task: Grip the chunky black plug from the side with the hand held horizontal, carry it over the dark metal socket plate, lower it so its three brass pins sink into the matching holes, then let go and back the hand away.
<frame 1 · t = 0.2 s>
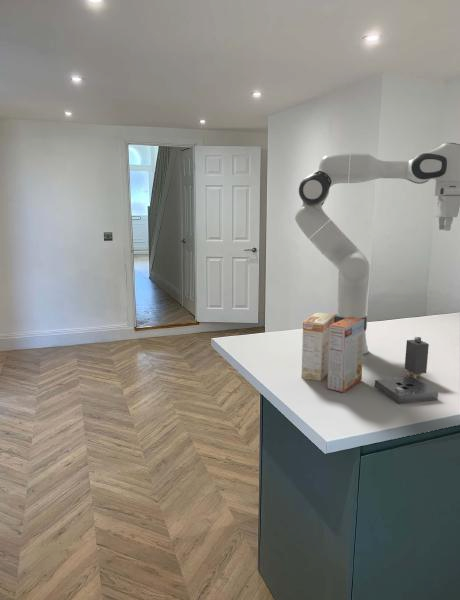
hand: (444, 230, 166), 48 cm above the worktop, tool pointing down, fingers open, 8 cm apart
plug: (414, 376, 154), on the worktop
cracker box: (344, 385, 147), on the worktop
coffeecake box: (317, 373, 158), on the worktop
socket plate: (405, 393, 140), on the worktop
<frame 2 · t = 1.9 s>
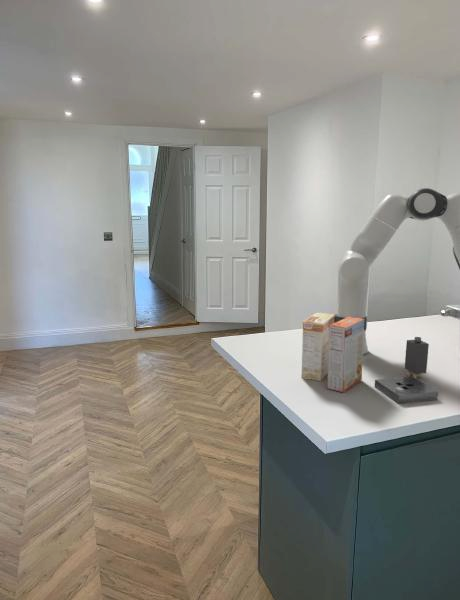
hand: (451, 316, 153), 20 cm above the worktop, tool horizontal, fingers open, 8 cm apart
nothing on the worktop moved.
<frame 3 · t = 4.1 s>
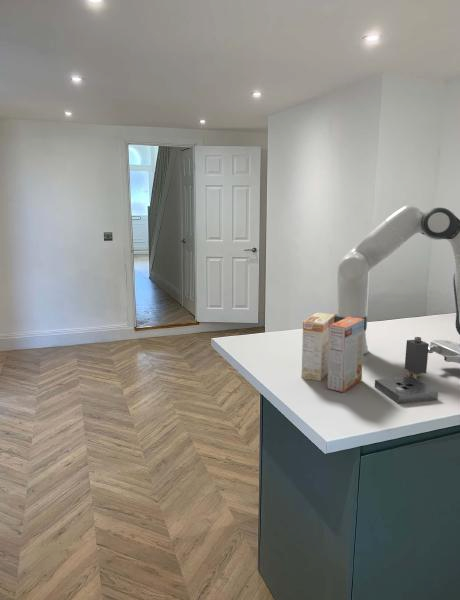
hand: (436, 354, 155), 7 cm above the worktop, tool horizontal, fingers open, 8 cm apart
nothing on the worktop moved.
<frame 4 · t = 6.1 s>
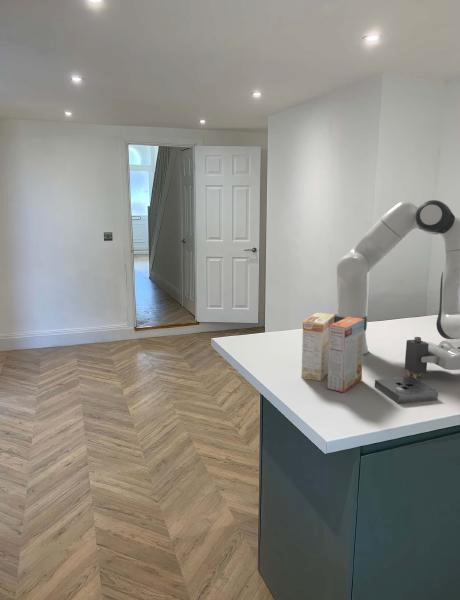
hand: (414, 356, 153), 7 cm above the worktop, tool horizontal, fingers closed on plug, 5 cm apart
plug: (414, 376, 154), on the worktop, touching gripper
everything else where it was.
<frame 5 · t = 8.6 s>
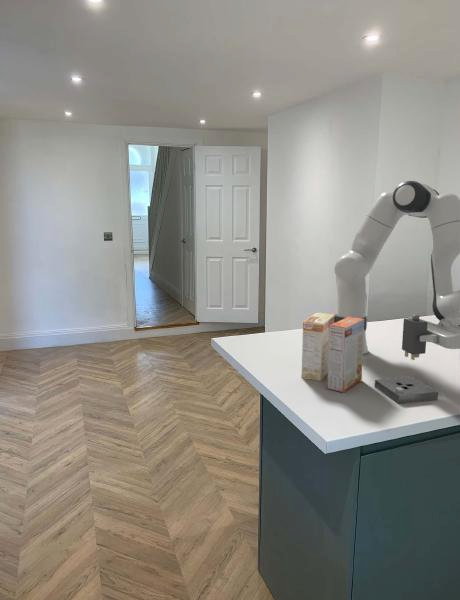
hand: (411, 335, 141), 17 cm above the worktop, tool horizontal, fingers closed on plug, 5 cm apart
plug: (412, 357, 143), point 10 cm above the worktop, touching gripper
everything else where it was.
when the fingers open (8 cm above the worktop, at t = 11.3 s): plug stays where it is, resting on socket plate.
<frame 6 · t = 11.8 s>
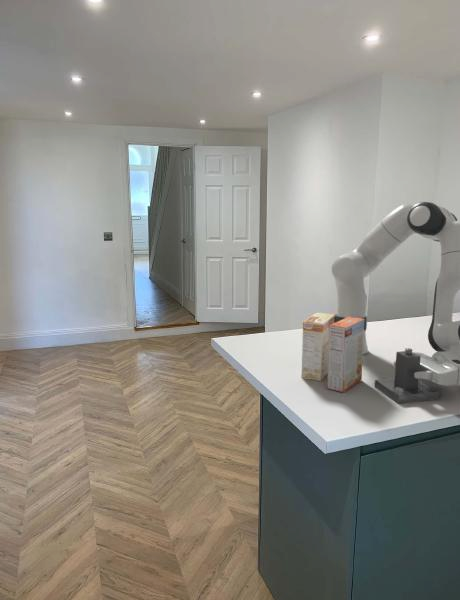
hand: (404, 369, 138), 8 cm above the worktop, tool horizontal, fingers open, 8 cm apart
plug: (405, 391, 140), resting on socket plate
everything else where it was.
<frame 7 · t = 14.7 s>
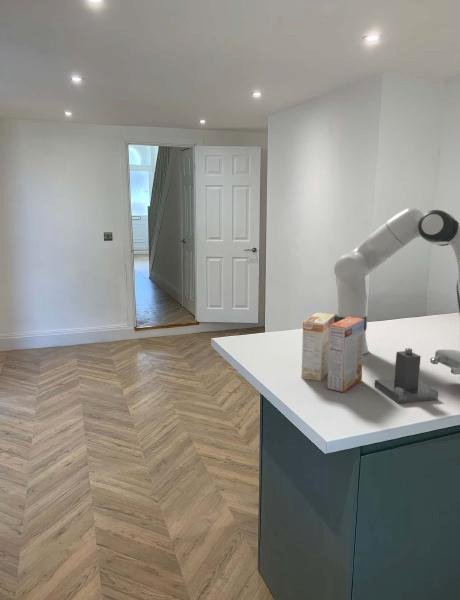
hand: (441, 365, 141), 8 cm above the worktop, tool horizontal, fingers open, 8 cm apart
nothing on the worktop moved.
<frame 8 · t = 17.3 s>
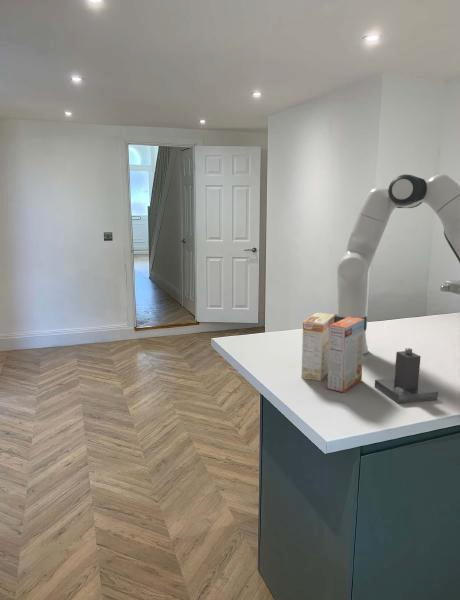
hand: (451, 291, 143), 30 cm above the worktop, tool horizontal, fingers open, 8 cm apart
nothing on the worktop moved.
at the end: plug 0.1 cm off-centre on the socket plate, point 0.5 cm above the socket plate's base; plug tilted 0°; the gripper is holding nothing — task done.
